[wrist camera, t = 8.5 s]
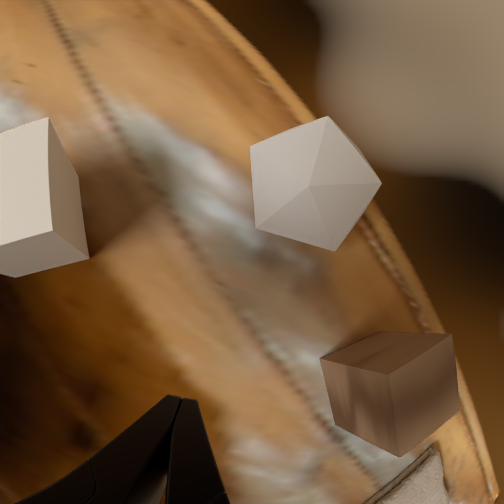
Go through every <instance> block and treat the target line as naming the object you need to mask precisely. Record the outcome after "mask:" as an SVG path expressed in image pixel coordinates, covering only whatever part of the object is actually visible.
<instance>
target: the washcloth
mask: <svg viewBox="0 0 504 504" xmlns="http://www.w3.org/2000/svg"><path fill="white" fill-rule="evenodd" d="M443 477H444V474H443V466H442V462H441V458H440V453H439V452H438V450H436V449H435V448H431V447H430V448H429V449H428V450H427V451H425V452H424V453H423V454H422V455H421V456H420V457H419V458H418V459H417V460H416V461H415V462H414V463H413V464H411V465H410V466H409V467H408V468H407V469H406V470H404V471H403V473H401V474H400V475H399V476H398V477H397V478H396V479H394V480H393V481H392V482H390V483H389V484H388V485H386V486H385V487H384V488H383V489H382V490H380V491H379V492H377V493H376V494H375V495H374V496H373V497H371V498H370V499H369V500H368V501H367V502H365V503H364V504H449V503H450V501H449V495H448V493H447V490H446V488H445V487H444V482H443Z"/></svg>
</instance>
